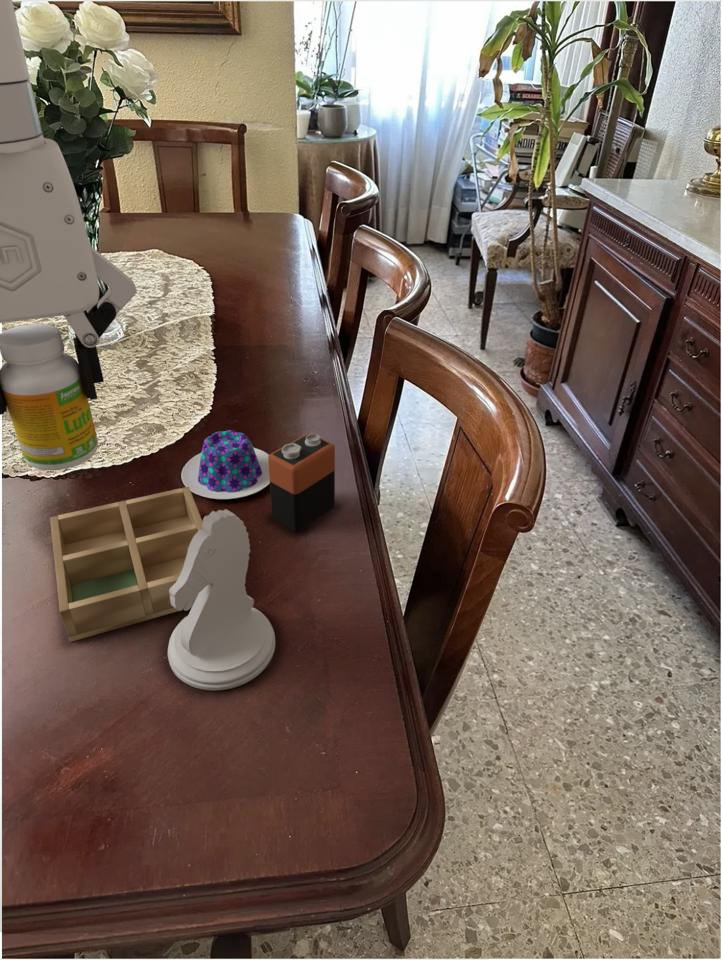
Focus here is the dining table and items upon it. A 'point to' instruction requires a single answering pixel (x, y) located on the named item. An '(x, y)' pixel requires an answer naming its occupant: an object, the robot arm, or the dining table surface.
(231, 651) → the chess piece
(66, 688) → the dining table surface
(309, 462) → the battery
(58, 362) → the supplement bottle
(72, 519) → the grid
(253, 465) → the pudding
